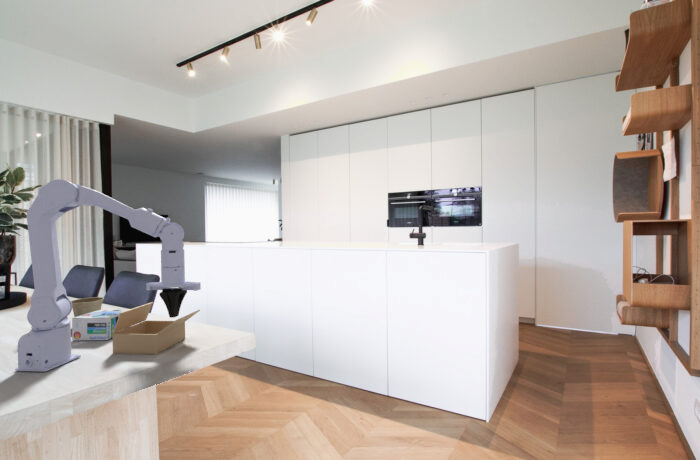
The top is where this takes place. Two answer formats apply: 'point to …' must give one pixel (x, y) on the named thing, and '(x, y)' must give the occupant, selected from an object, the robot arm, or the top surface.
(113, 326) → the light bulb box
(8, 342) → the top surface
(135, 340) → the carton
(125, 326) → the flap
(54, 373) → the top surface
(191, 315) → the flap
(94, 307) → the flower pot
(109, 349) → the top surface
